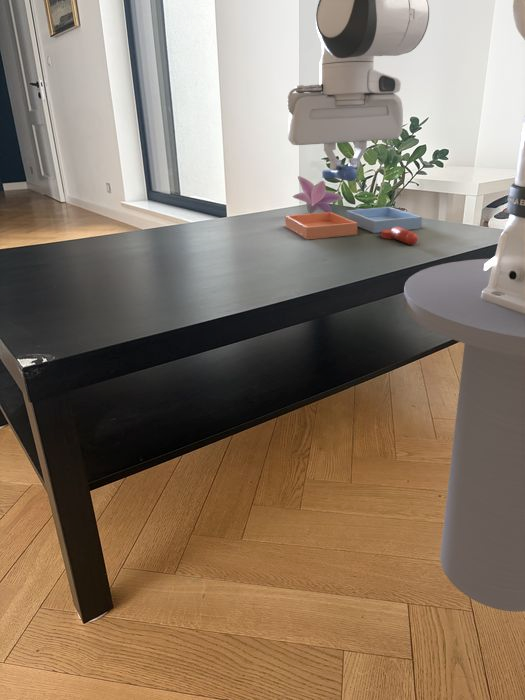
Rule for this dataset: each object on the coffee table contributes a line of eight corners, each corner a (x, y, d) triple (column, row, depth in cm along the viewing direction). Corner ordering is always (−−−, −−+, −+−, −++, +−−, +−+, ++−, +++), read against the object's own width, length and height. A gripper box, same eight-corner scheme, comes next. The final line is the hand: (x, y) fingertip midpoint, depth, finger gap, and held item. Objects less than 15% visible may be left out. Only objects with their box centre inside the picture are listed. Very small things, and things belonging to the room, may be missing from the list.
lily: (347, 223, 133) (351, 185, 134) (309, 209, 126) (314, 169, 127) (315, 232, 143) (319, 196, 143) (278, 219, 136) (283, 182, 137)
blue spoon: (363, 180, 95) (364, 166, 95) (342, 182, 95) (342, 168, 94) (338, 175, 106) (338, 162, 105) (319, 176, 105) (319, 163, 104)
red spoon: (423, 245, 105) (424, 232, 104) (404, 247, 104) (405, 234, 103) (395, 234, 115) (396, 222, 114) (377, 235, 114) (378, 224, 113)
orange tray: (357, 234, 116) (357, 222, 115) (306, 239, 113) (306, 227, 112) (330, 222, 129) (330, 211, 128) (285, 226, 127) (285, 215, 126)
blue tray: (421, 228, 119) (422, 216, 118) (373, 233, 117) (374, 221, 116) (389, 217, 133) (389, 206, 132) (345, 221, 130) (346, 210, 129)
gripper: (293, 84, 87) (295, 175, 92) (409, 80, 92) (404, 167, 97) (281, 86, 93) (283, 172, 98) (391, 82, 97) (388, 164, 103)
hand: (345, 169), depth 98 cm, fingers closed on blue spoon, 2 cm apart
